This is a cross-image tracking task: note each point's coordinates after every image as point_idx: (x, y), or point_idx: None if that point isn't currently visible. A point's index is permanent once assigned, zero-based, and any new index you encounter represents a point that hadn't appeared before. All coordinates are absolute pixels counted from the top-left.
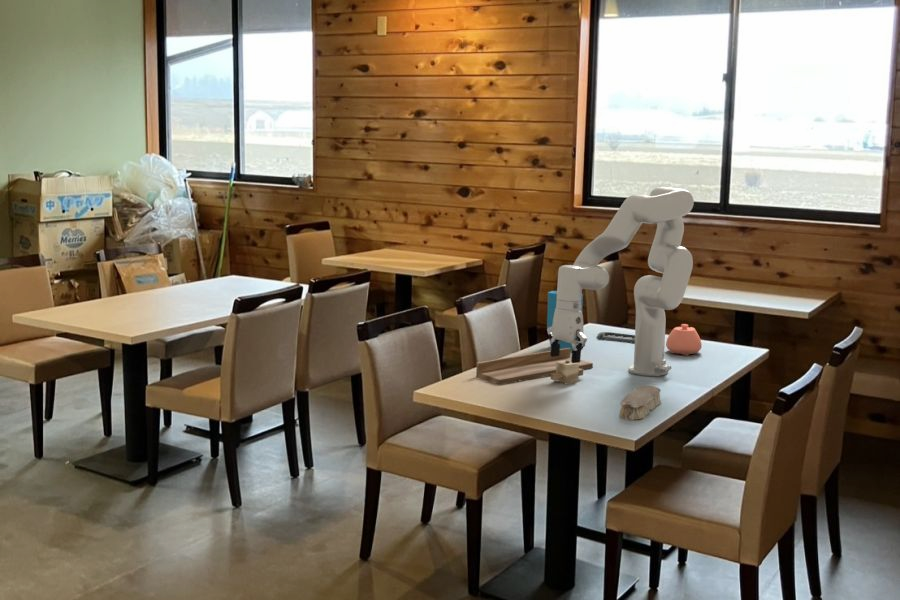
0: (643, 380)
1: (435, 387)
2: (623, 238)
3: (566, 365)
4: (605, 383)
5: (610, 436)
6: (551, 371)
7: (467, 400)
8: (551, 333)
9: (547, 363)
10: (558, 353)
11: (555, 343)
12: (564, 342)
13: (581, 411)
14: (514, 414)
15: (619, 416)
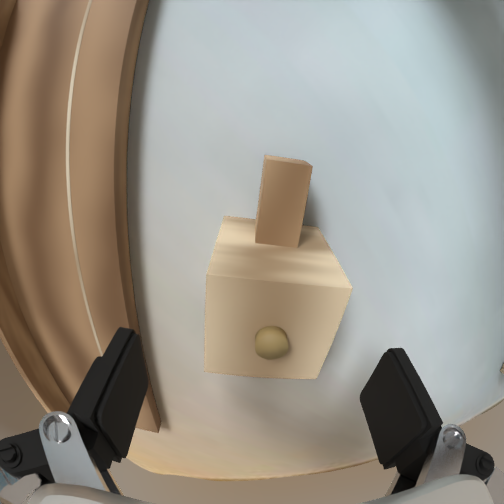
0: (479, 15)
1: (129, 457)
2: None
3: (312, 377)
4: (434, 153)
5: (484, 412)
6: (119, 248)
7: (231, 476)
8: (24, 492)
9: (12, 158)
10: (134, 354)
11: (107, 452)
12: None
13: (443, 406)
14: (345, 467)
15: (501, 371)
